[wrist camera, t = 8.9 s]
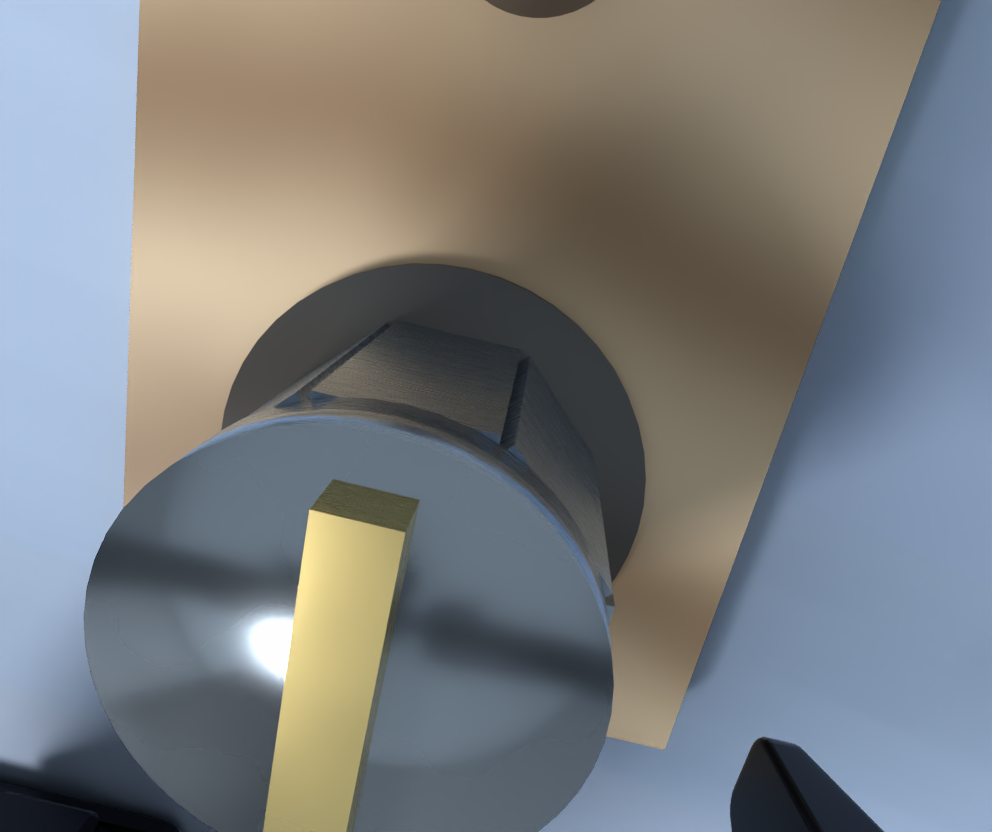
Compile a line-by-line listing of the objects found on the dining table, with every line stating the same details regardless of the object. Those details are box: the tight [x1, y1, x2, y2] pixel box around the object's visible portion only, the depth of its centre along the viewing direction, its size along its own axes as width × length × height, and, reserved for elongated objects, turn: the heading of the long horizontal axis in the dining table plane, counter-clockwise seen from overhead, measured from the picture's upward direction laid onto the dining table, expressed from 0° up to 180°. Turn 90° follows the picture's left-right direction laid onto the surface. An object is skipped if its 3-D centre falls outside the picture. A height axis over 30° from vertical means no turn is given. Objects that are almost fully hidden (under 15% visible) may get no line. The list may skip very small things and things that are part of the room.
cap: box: [84, 321, 615, 832], centre depth 10 cm, size 6×6×6 cm
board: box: [124, 0, 941, 750], centre depth 10 cm, size 20×12×5 cm, turn 168°
